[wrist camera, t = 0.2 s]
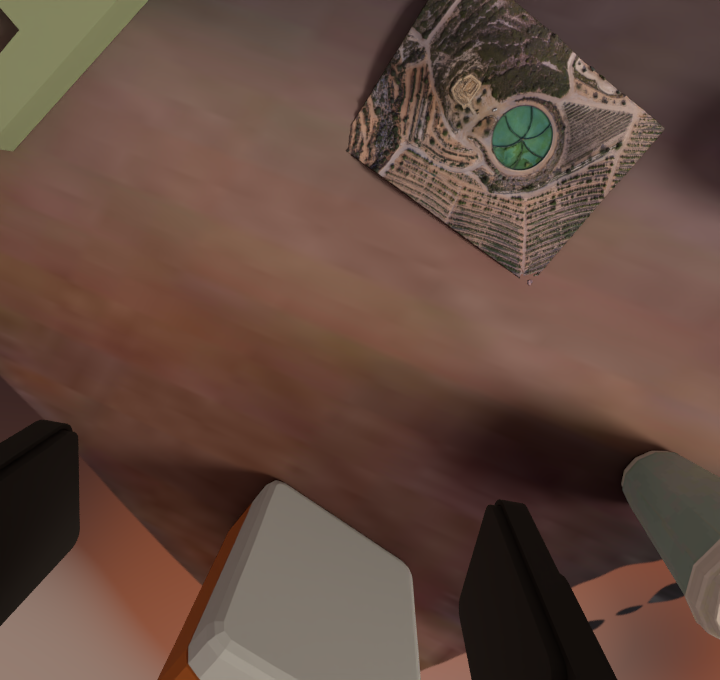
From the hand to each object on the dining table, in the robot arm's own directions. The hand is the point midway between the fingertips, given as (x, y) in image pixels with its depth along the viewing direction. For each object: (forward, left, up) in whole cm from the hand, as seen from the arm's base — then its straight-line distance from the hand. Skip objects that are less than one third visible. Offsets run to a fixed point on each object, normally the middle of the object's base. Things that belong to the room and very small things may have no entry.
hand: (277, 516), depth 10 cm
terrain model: (-17, -3, -32) cm, 36 cm away
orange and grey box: (+21, +19, -31) cm, 42 cm away
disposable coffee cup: (-11, +33, -31) cm, 47 cm away
